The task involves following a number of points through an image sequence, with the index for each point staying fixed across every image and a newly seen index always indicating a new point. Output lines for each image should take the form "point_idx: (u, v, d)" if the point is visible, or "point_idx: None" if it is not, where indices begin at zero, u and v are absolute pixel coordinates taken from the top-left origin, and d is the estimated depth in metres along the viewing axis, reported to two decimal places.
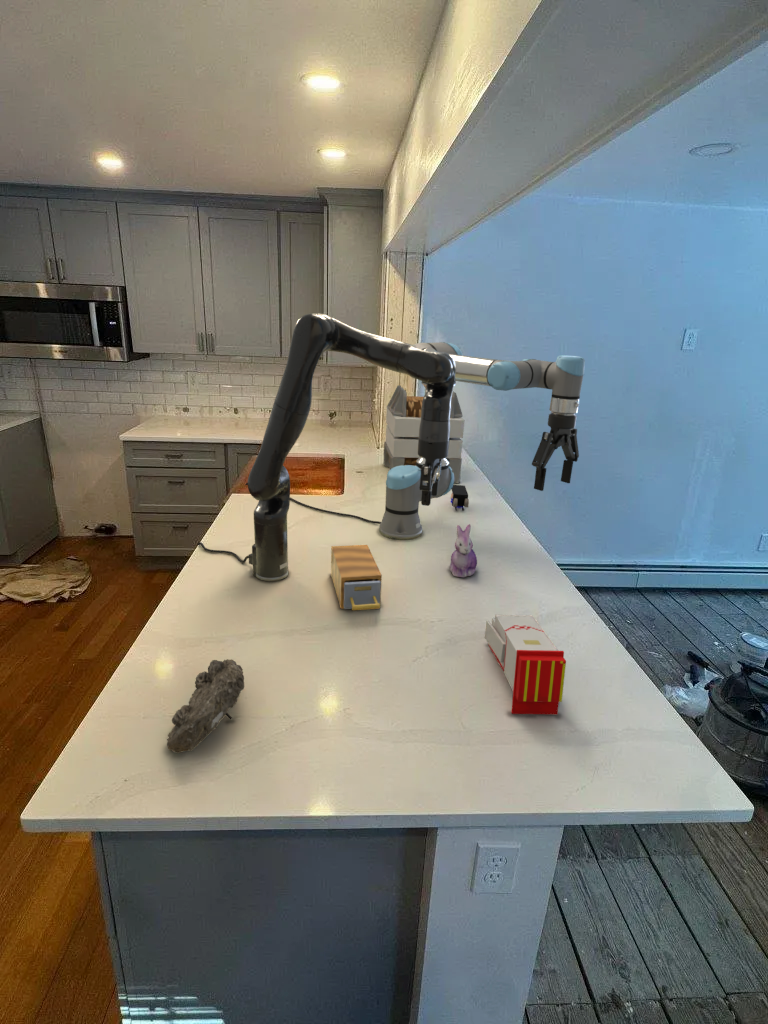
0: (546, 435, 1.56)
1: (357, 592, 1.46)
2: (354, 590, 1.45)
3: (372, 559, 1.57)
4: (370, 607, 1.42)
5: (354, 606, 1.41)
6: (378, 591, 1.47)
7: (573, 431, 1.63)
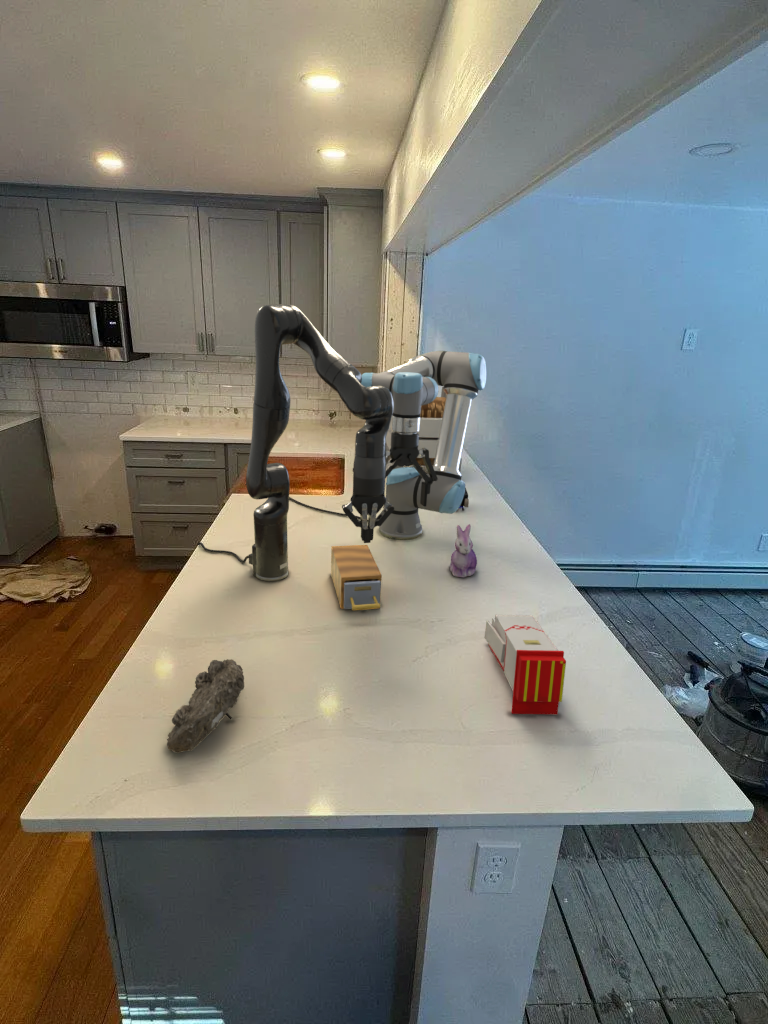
0: None
1: (357, 592, 1.46)
2: (354, 590, 1.45)
3: (372, 559, 1.57)
4: (370, 607, 1.42)
5: (354, 606, 1.41)
6: (378, 591, 1.47)
7: (424, 452, 1.55)
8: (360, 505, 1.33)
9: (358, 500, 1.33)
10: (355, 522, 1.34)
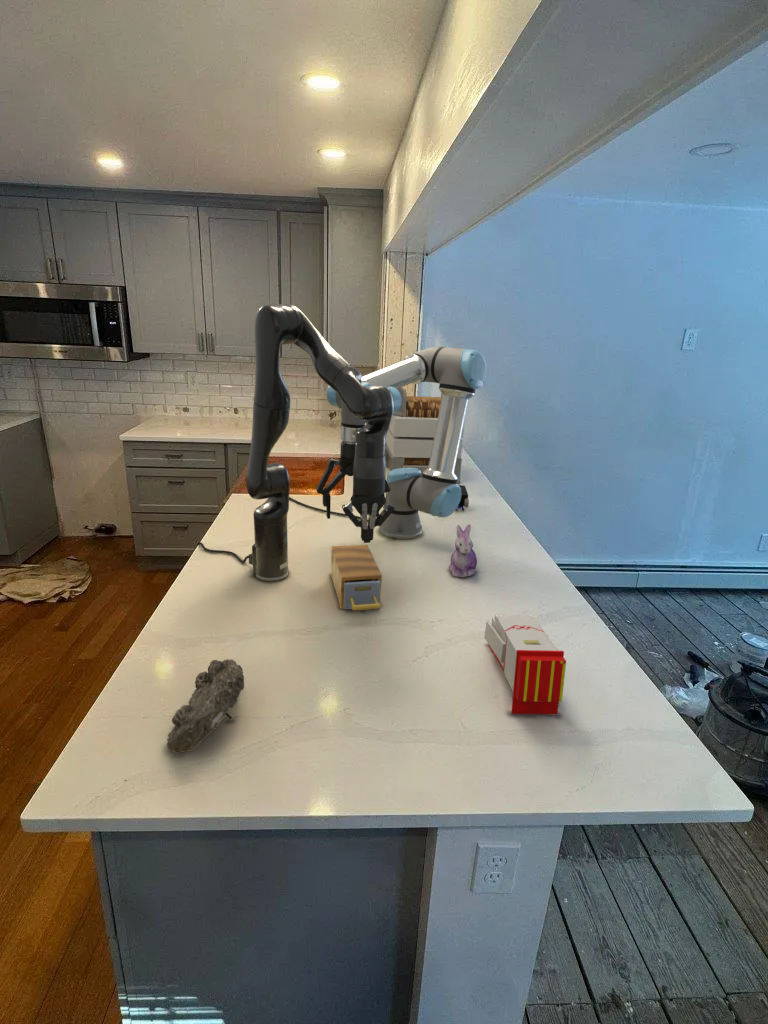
0: (328, 462, 1.51)
1: (357, 592, 1.46)
2: (354, 590, 1.45)
3: (372, 559, 1.57)
4: (370, 607, 1.42)
5: (354, 606, 1.41)
6: (378, 591, 1.47)
7: None
8: (360, 505, 1.33)
9: (358, 500, 1.33)
10: (355, 522, 1.34)
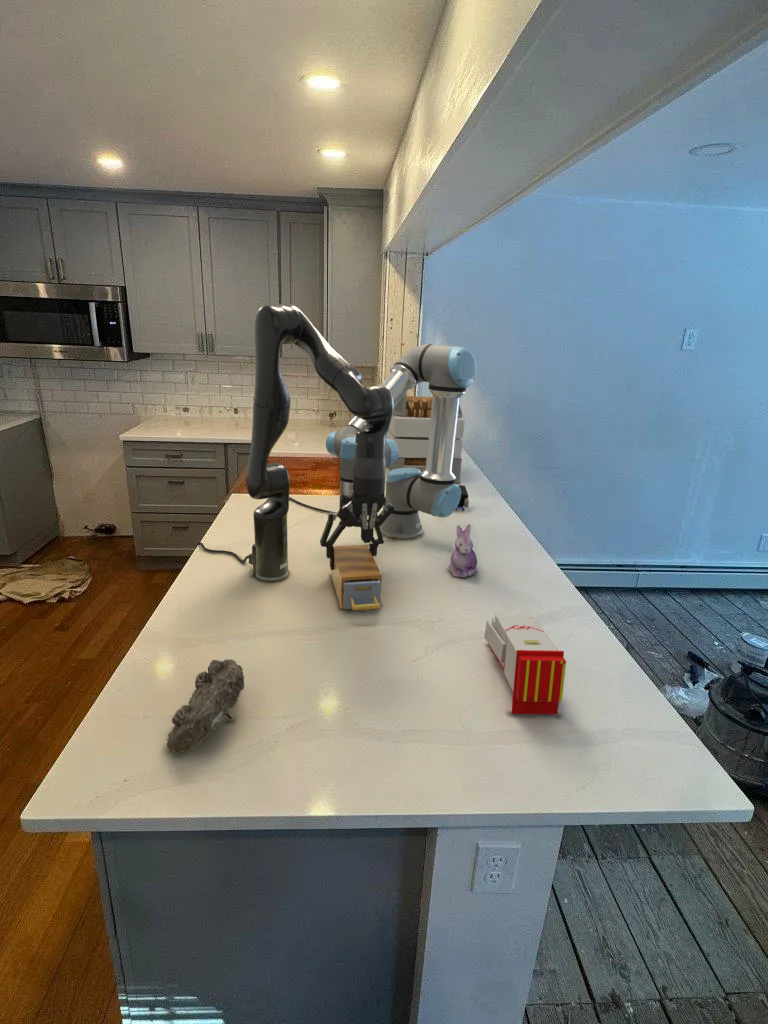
0: (328, 515, 1.56)
1: (357, 592, 1.46)
2: (354, 590, 1.45)
3: (372, 559, 1.57)
4: (370, 607, 1.42)
5: (354, 606, 1.41)
6: (378, 591, 1.47)
7: None
8: (360, 505, 1.33)
9: (358, 500, 1.33)
10: (355, 522, 1.34)
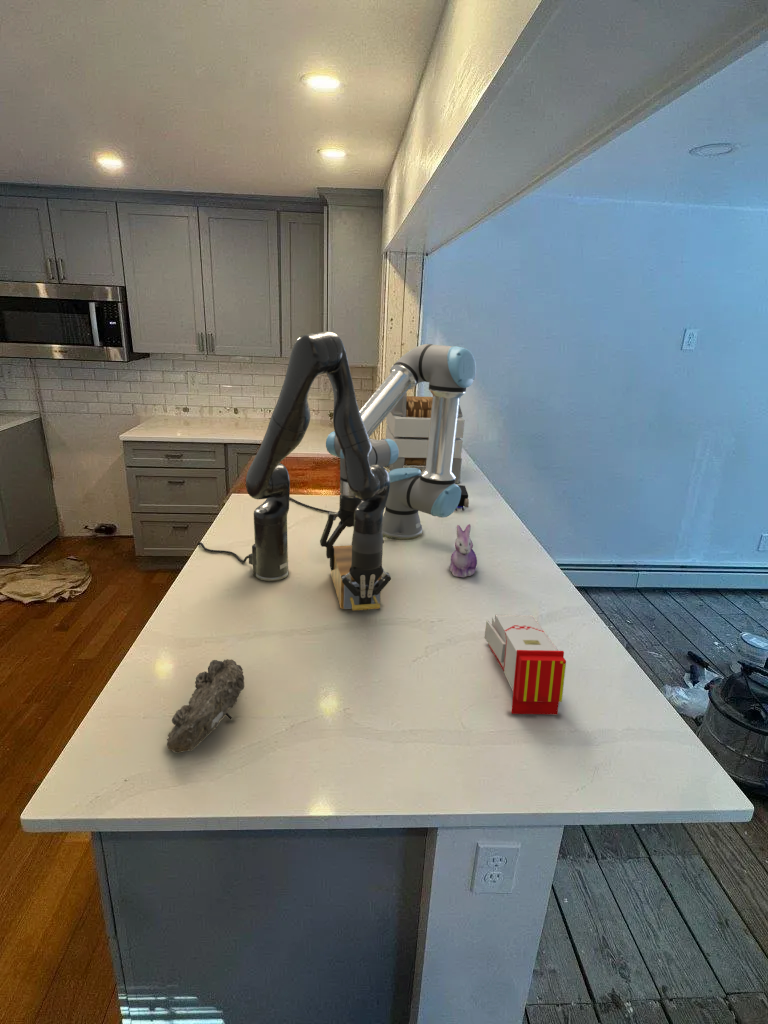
0: (328, 515, 1.56)
1: None
2: None
3: None
4: (370, 607, 1.42)
5: (354, 606, 1.41)
6: None
7: None
8: (358, 576, 1.39)
9: (356, 572, 1.39)
10: (353, 591, 1.40)
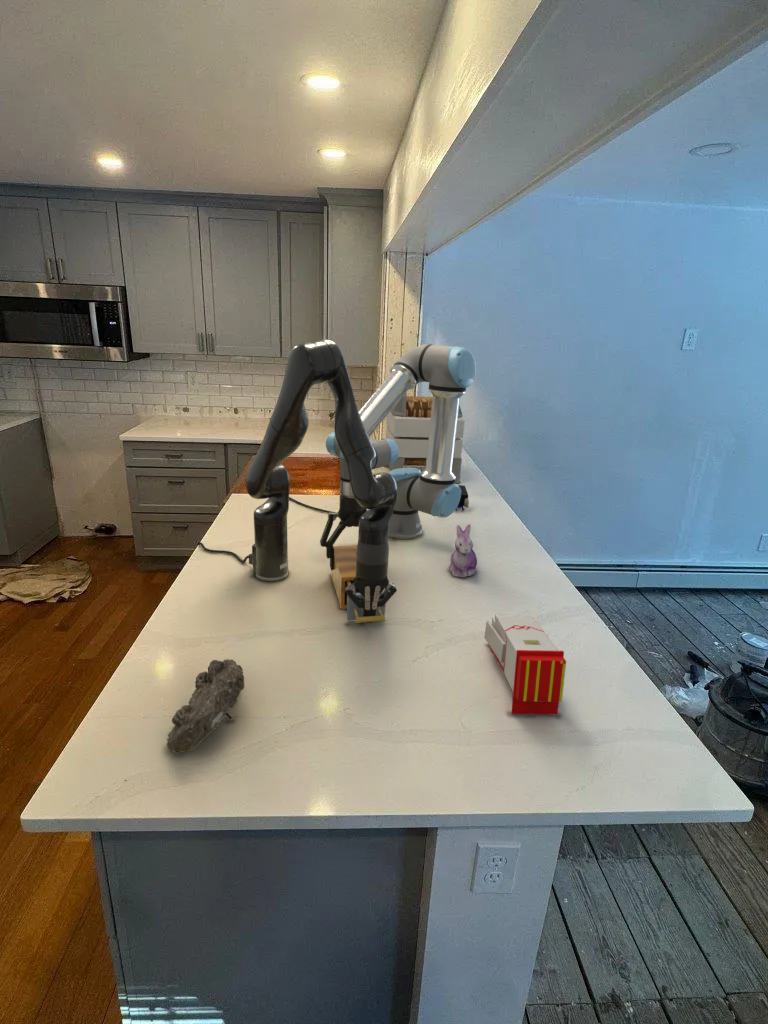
0: (328, 515, 1.56)
1: None
2: None
3: None
4: (375, 619, 1.36)
5: (358, 618, 1.36)
6: None
7: None
8: (363, 587, 1.34)
9: (361, 583, 1.33)
10: (357, 603, 1.35)
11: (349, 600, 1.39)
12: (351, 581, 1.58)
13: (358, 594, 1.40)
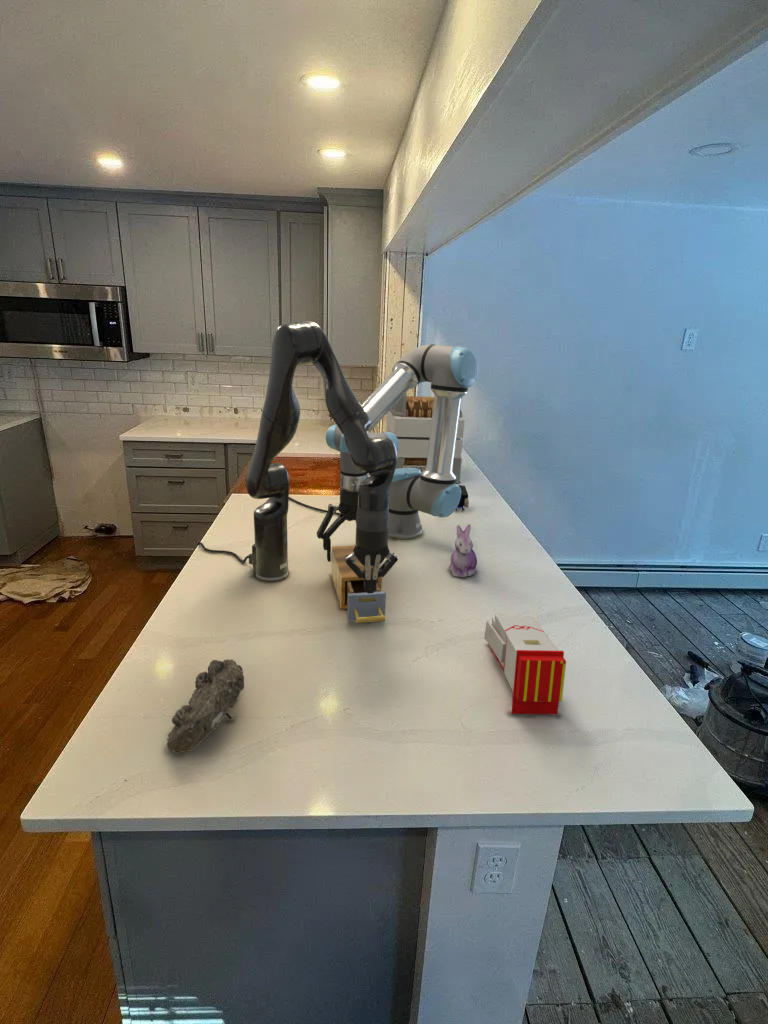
0: (328, 508, 1.55)
1: (361, 603, 1.40)
2: (358, 601, 1.40)
3: None
4: (375, 619, 1.36)
5: (358, 618, 1.36)
6: (383, 602, 1.42)
7: None
8: (363, 556, 1.31)
9: (361, 552, 1.31)
10: (358, 573, 1.32)
11: (349, 600, 1.39)
12: (351, 581, 1.58)
13: (358, 594, 1.40)
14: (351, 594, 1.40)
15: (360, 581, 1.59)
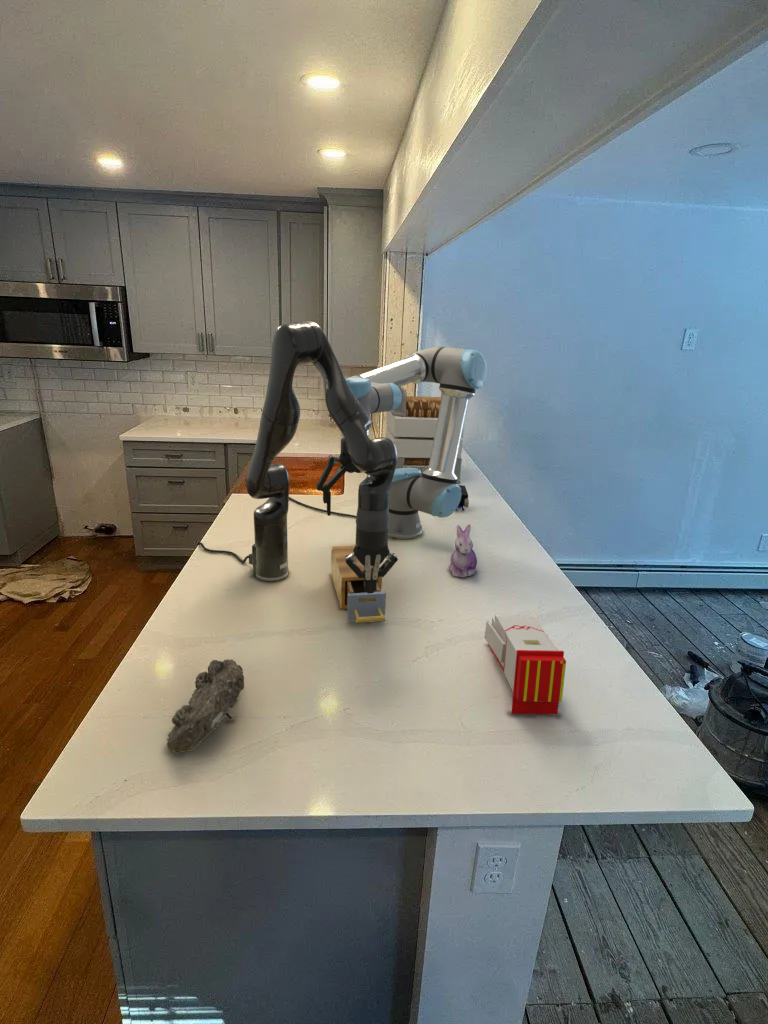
0: (329, 458, 1.51)
1: (361, 603, 1.40)
2: (358, 601, 1.40)
3: None
4: (375, 619, 1.36)
5: (358, 618, 1.36)
6: (383, 602, 1.42)
7: None
8: (363, 556, 1.31)
9: (361, 552, 1.31)
10: (358, 573, 1.32)
11: (349, 600, 1.39)
12: (351, 581, 1.58)
13: (358, 594, 1.40)
14: (351, 594, 1.40)
15: (360, 581, 1.59)
